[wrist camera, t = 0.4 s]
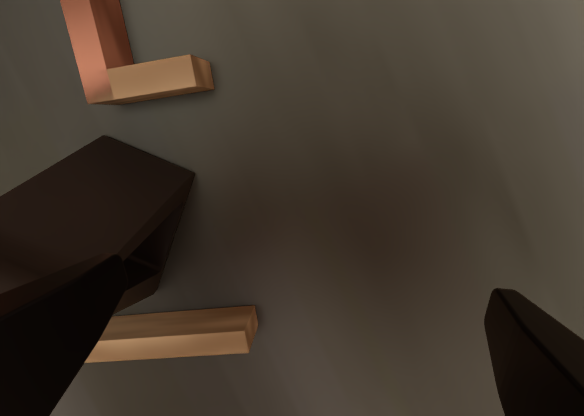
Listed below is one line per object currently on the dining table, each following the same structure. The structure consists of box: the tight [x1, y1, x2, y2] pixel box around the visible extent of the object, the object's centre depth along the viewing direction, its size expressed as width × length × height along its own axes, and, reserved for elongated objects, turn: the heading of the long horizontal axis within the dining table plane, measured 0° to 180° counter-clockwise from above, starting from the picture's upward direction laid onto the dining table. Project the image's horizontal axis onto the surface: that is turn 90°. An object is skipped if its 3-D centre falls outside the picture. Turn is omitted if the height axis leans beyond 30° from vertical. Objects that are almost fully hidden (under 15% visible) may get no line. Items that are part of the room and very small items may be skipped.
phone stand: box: [0, 135, 194, 314], centre depth 18 cm, size 9×6×12 cm, turn 157°
